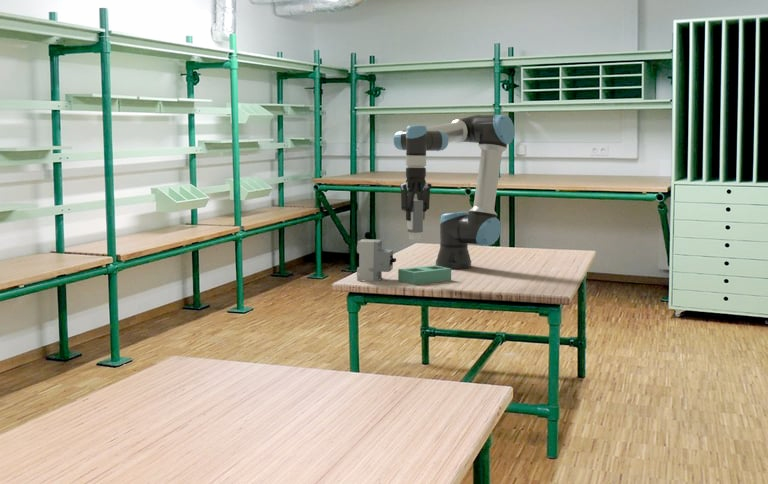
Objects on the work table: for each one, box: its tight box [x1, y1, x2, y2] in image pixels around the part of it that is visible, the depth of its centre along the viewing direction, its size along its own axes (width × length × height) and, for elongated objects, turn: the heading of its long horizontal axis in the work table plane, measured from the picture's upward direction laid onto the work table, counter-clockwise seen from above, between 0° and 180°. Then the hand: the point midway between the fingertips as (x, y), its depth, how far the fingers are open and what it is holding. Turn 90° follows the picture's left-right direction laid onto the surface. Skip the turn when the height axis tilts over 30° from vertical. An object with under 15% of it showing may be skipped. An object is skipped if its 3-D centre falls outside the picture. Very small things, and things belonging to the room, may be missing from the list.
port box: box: [397, 264, 452, 286], centre depth 330 cm, size 18×10×4 cm, turn 125°
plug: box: [407, 199, 424, 241], centre depth 324 cm, size 4×4×15 cm
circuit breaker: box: [356, 238, 397, 282], centre depth 331 cm, size 8×14×15 cm, turn 78°
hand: (415, 228), depth 325 cm, fingers closed on plug, 4 cm apart
